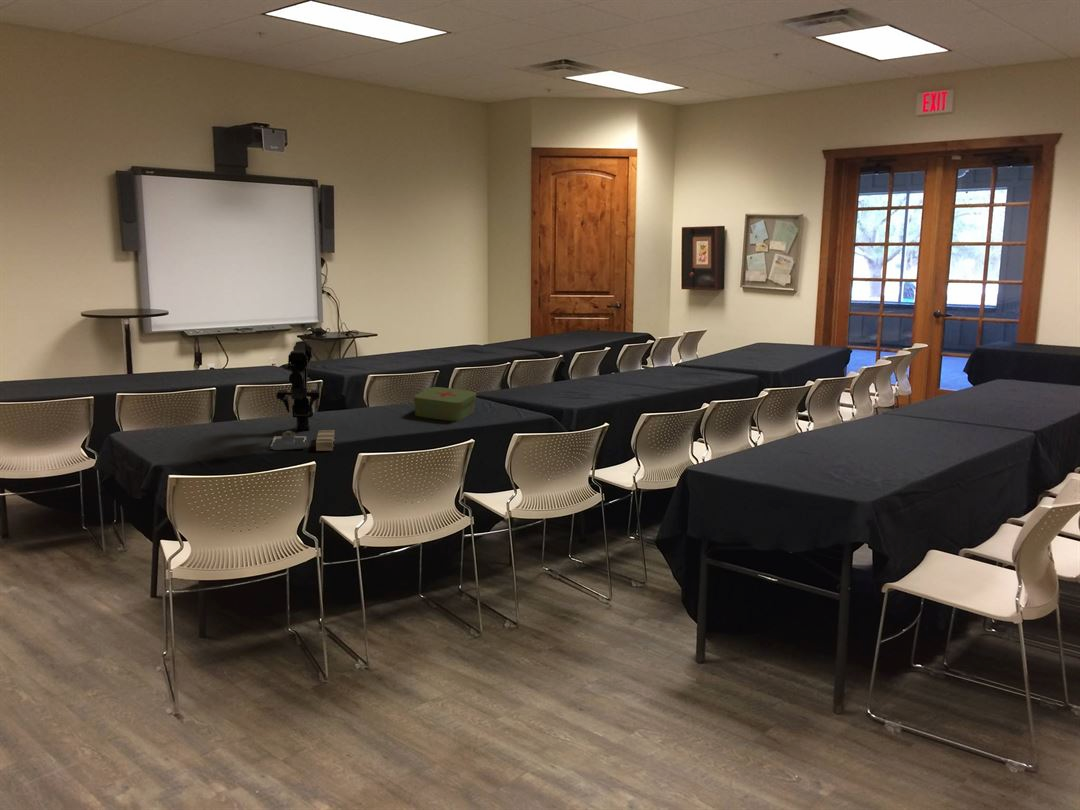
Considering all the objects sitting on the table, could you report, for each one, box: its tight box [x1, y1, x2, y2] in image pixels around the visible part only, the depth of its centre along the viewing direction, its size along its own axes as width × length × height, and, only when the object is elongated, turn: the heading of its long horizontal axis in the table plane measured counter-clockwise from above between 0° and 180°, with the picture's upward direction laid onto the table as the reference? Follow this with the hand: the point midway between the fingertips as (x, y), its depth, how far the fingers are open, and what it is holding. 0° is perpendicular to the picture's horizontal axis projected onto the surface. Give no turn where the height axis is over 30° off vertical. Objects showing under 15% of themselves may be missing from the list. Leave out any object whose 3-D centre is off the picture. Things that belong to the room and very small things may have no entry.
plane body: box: [315, 429, 336, 452], centre depth 394 cm, size 18×7×4 cm, turn 10°
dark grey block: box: [281, 430, 296, 444], centre depth 391 cm, size 7×5×5 cm
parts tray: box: [269, 435, 307, 447], centre depth 392 cm, size 16×14×2 cm
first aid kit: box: [413, 386, 477, 422], centre depth 454 cm, size 26×26×10 cm
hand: (299, 412), depth 400 cm, fingers open, 9 cm apart
